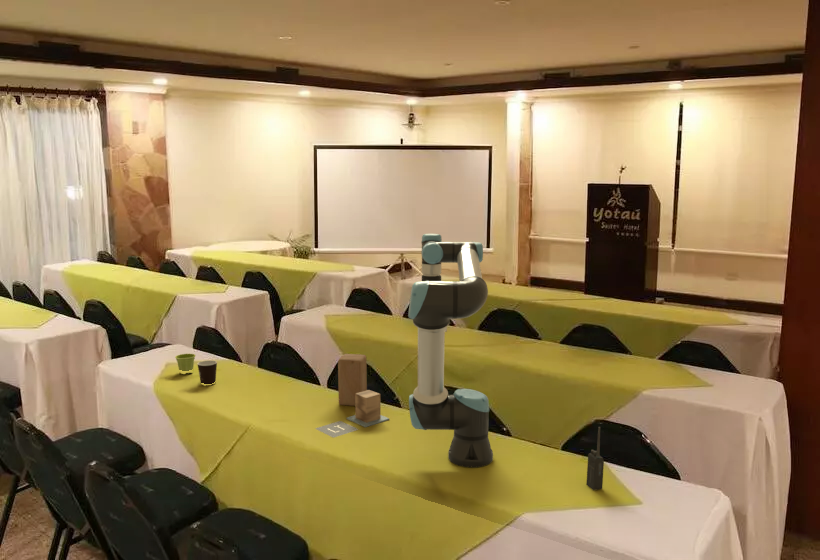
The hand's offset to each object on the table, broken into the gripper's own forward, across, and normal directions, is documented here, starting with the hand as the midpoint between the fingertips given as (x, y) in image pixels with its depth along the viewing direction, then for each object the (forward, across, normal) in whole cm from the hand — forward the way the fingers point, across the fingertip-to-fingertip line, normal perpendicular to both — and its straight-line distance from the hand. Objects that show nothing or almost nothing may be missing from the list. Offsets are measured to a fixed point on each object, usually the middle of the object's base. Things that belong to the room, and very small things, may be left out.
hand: (431, 329), depth 257 cm
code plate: (+37, +17, +33) cm, 52 cm away
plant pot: (+37, +125, +44) cm, 137 cm away
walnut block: (+36, +17, +18) cm, 44 cm away
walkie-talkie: (+37, -75, +2) cm, 84 cm away
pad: (+37, +17, +18) cm, 44 cm away
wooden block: (+37, +37, +10) cm, 53 cm away
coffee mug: (+37, +103, +43) cm, 118 cm away
